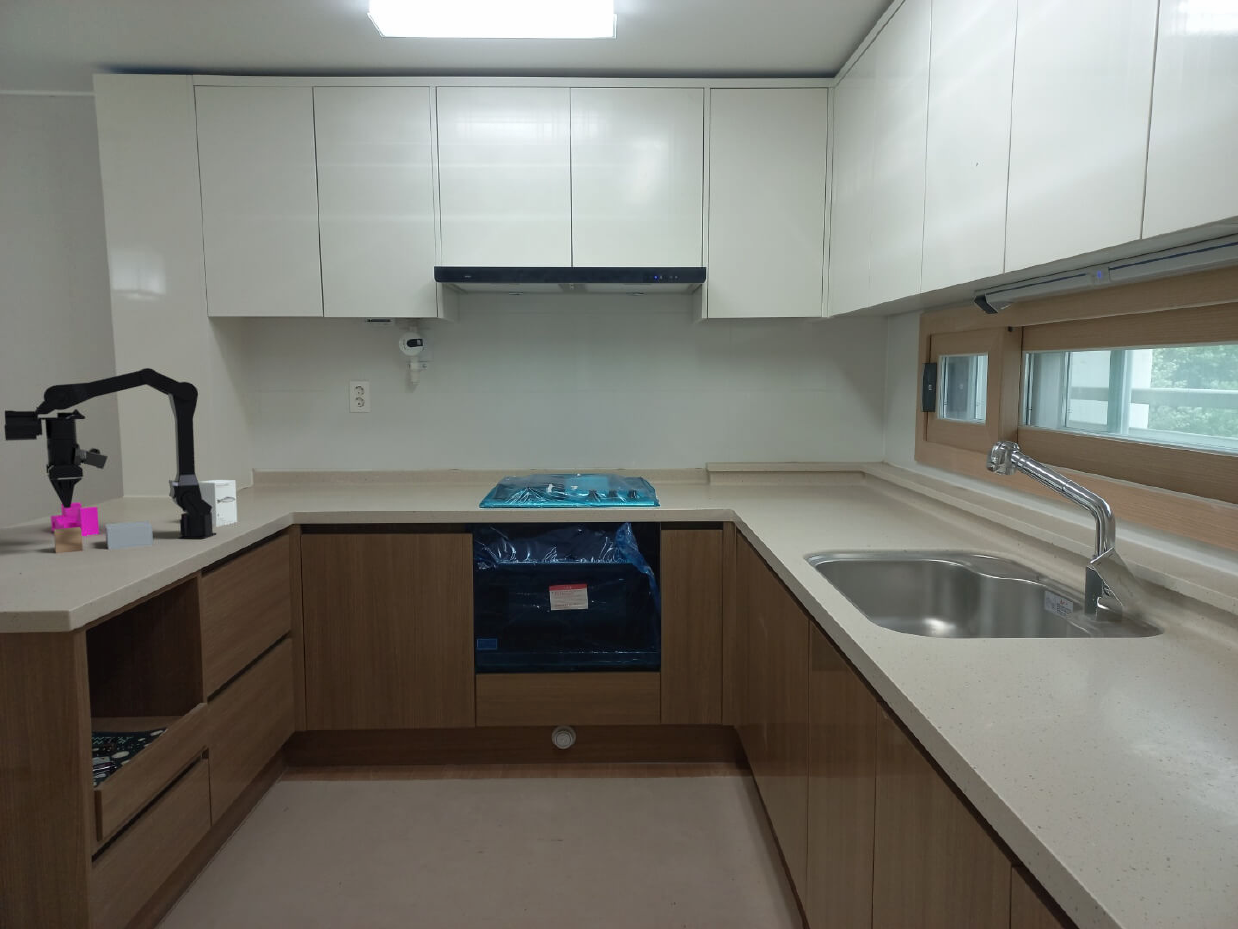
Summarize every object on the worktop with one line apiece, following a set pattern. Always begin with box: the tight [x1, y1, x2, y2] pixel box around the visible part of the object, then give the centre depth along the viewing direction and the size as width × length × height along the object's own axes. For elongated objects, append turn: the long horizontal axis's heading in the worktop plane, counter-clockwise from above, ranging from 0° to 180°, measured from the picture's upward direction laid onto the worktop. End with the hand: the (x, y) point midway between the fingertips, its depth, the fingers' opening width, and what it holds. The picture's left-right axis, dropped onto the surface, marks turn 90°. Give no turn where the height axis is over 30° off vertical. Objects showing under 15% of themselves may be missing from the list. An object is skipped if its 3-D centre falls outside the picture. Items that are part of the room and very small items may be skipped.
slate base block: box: [104, 520, 154, 550], centre depth 185 cm, size 9×9×5 cm
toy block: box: [50, 501, 100, 537], centre depth 199 cm, size 15×6×8 cm, turn 52°
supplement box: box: [198, 479, 238, 528], centre depth 211 cm, size 7×7×13 cm
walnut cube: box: [53, 527, 84, 554], centre depth 178 cm, size 5×5×5 cm
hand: (66, 505), depth 177 cm, fingers open, 9 cm apart
